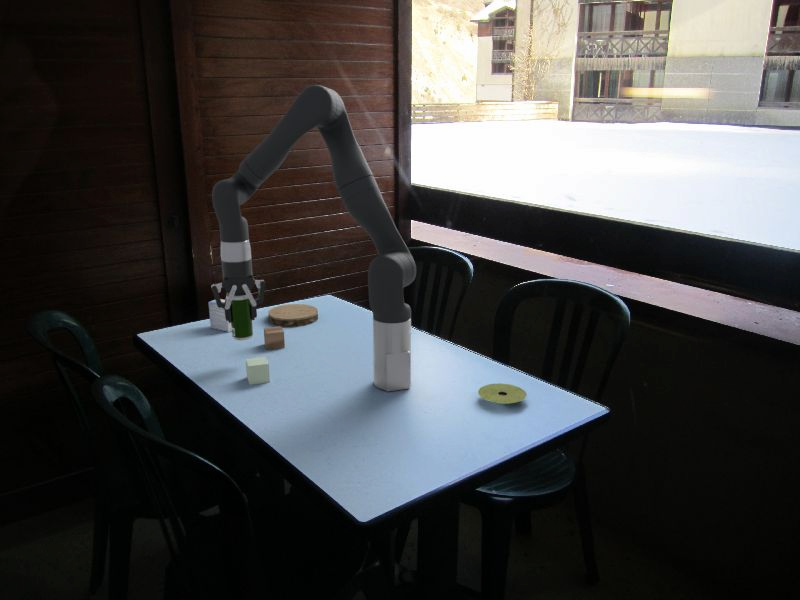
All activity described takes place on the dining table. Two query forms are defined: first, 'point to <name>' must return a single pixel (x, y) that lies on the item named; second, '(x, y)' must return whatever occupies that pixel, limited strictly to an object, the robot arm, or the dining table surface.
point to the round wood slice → (293, 315)
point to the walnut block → (274, 338)
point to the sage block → (257, 370)
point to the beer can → (241, 317)
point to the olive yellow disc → (502, 393)
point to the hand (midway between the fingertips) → (241, 320)
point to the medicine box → (218, 317)
